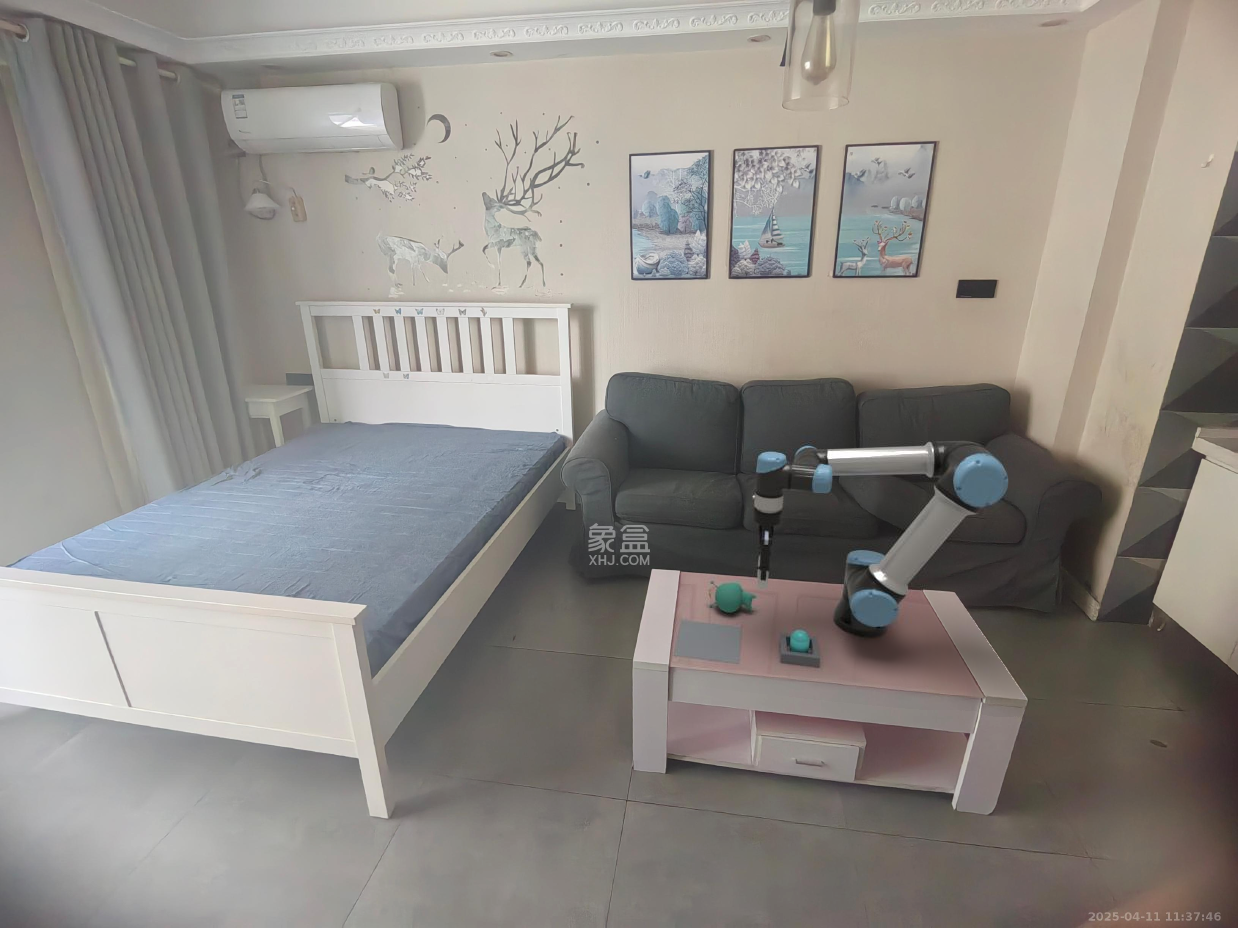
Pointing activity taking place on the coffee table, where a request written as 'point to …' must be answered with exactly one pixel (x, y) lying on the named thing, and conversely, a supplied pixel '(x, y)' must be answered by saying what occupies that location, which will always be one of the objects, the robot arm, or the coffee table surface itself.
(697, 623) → the mat
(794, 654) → the dome housing
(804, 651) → the dome
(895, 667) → the coffee table surface
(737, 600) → the toy
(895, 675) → the coffee table surface
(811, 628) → the coffee table surface
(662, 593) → the coffee table surface
